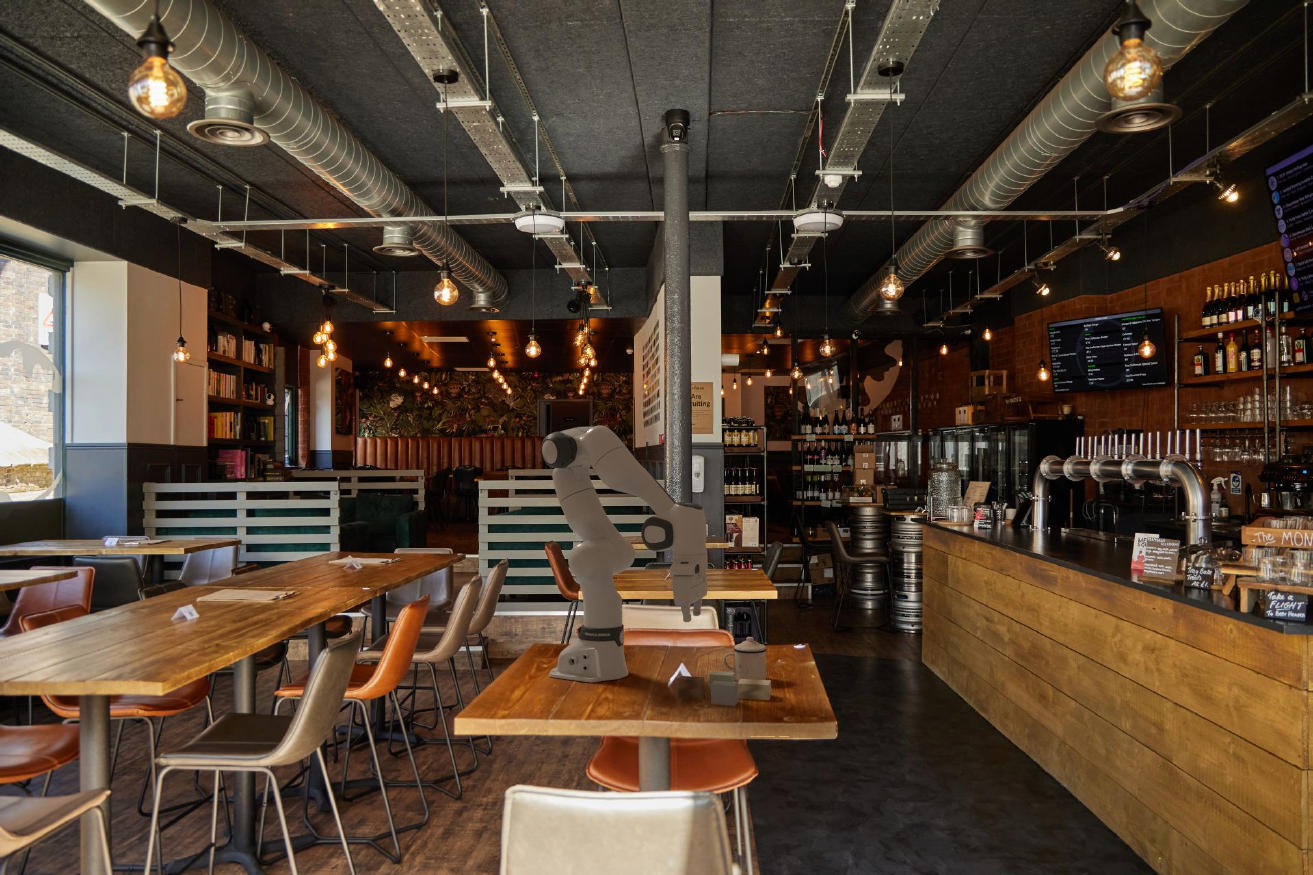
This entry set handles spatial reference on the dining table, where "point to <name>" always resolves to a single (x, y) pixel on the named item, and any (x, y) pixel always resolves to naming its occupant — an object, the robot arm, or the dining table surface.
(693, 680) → the walnut block
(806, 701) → the dining table surface
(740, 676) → the teacup with lid
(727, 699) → the grey block
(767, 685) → the maple block
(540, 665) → the dining table surface
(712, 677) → the sage block
